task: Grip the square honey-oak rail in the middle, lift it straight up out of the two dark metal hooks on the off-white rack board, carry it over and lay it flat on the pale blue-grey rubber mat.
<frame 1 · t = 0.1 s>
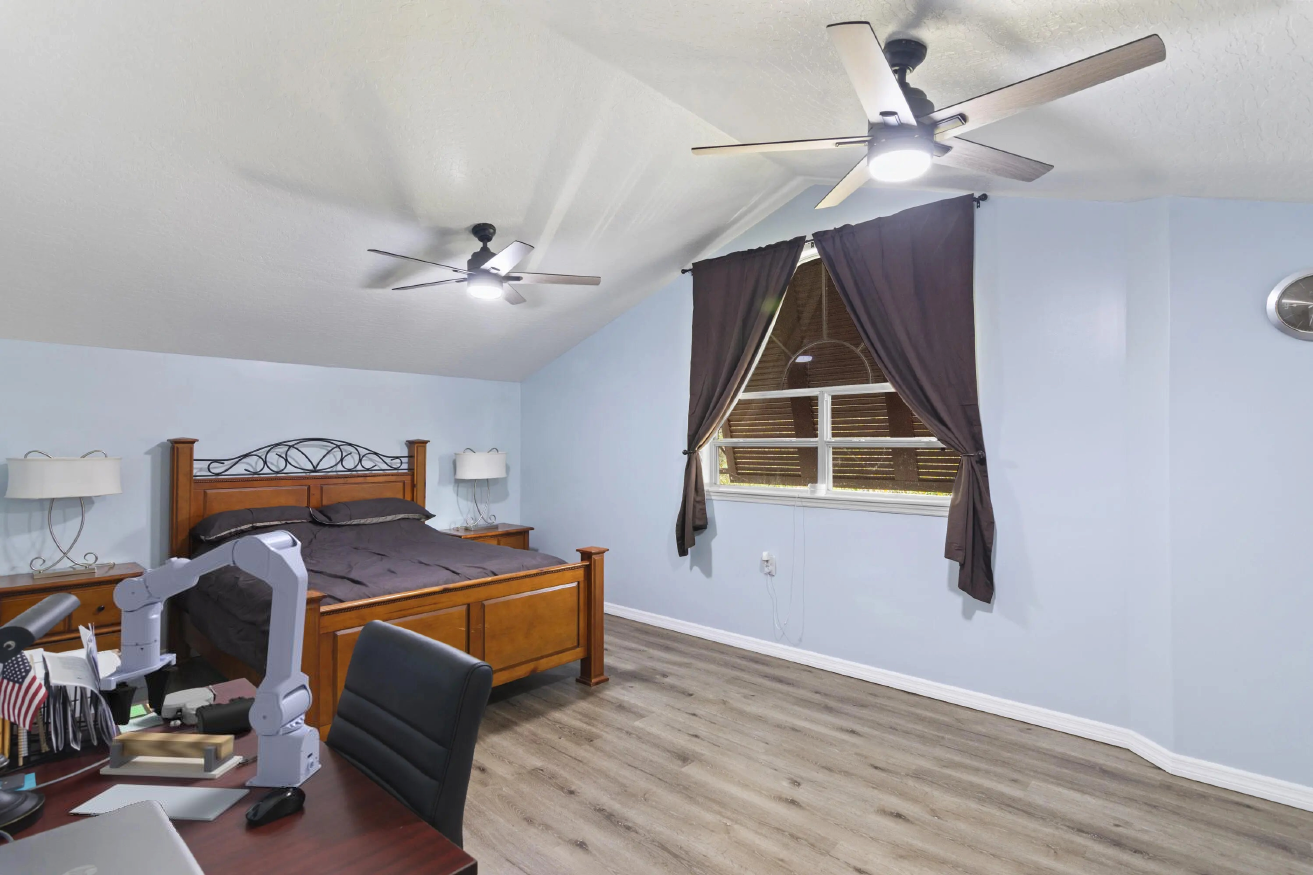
hand: (139, 715, 123), 10 cm above the table, tool pointing down, fingers open, 7 cm apart
robot toy: (190, 719, 147), on the table
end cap: (225, 736, 138), on the table
rubber mat: (162, 802, 112), on the table
oak rail: (173, 753, 124), point 2 cm above the table, touching hook rack
hook rack: (172, 766, 124), on the table
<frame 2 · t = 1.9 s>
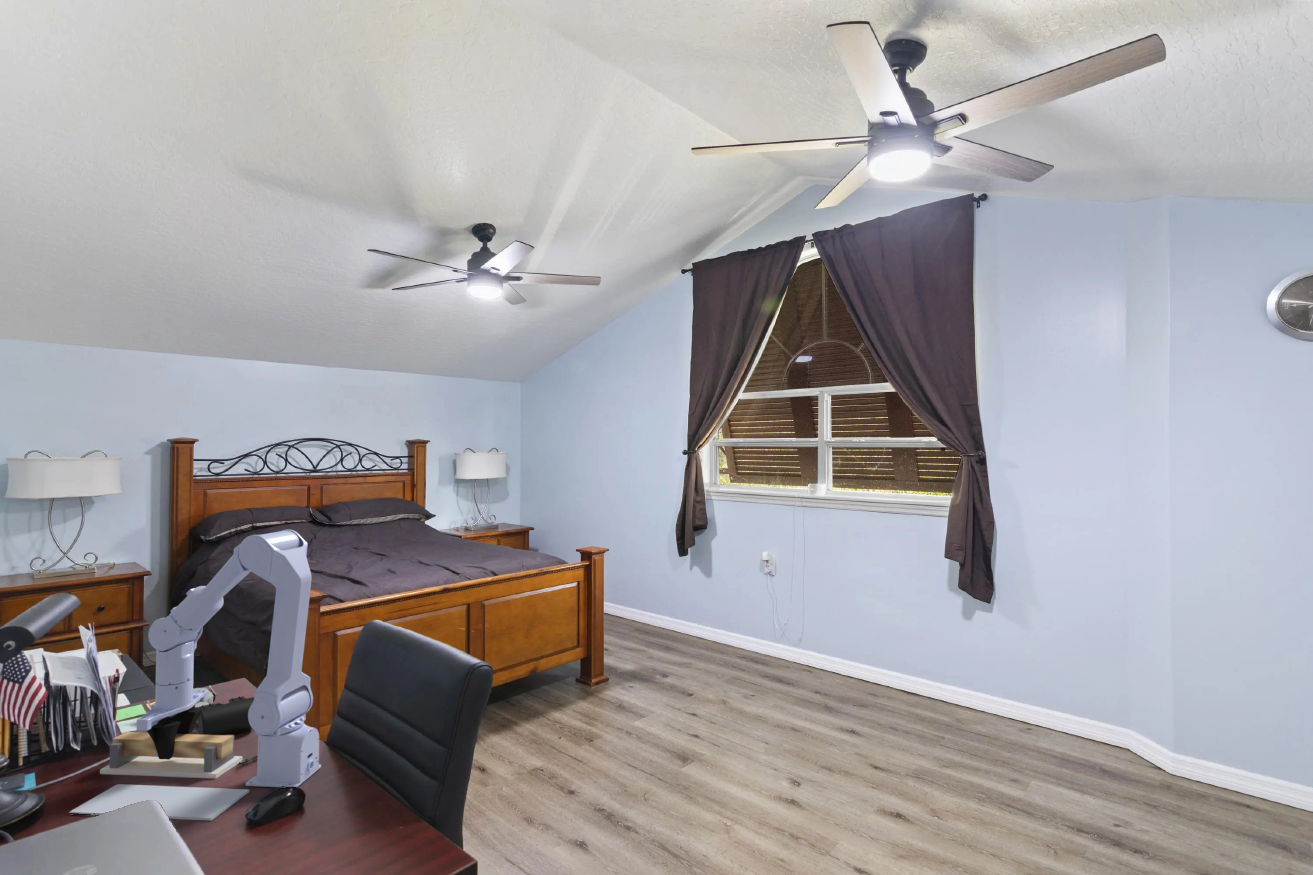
hand: (173, 753, 124), 2 cm above the table, tool pointing down, fingers closed on oak rail, 3 cm apart
oak rail: (173, 753, 124), point 2 cm above the table, touching gripper, hook rack
everything else where it was.
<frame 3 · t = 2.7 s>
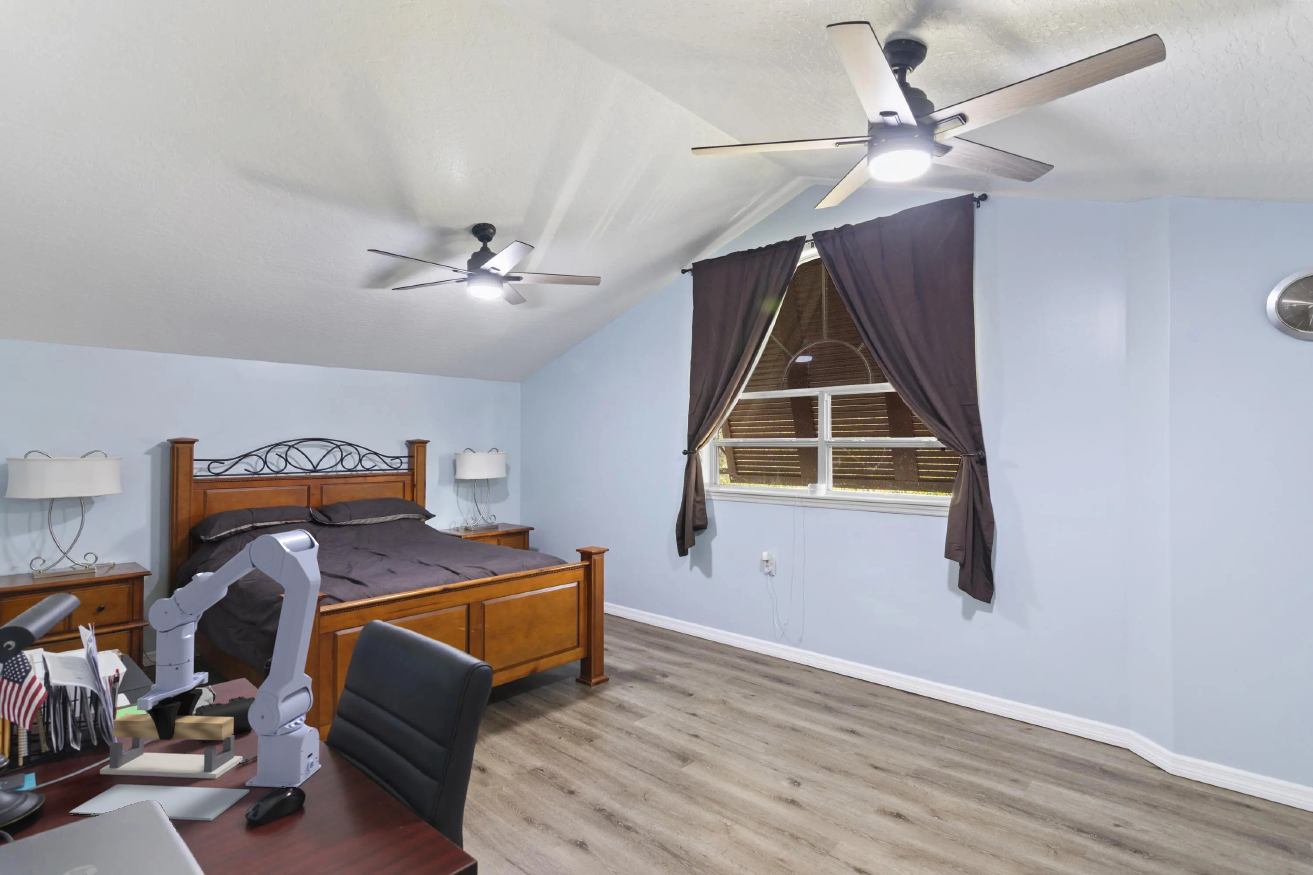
hand: (173, 734, 124), 6 cm above the table, tool pointing down, fingers closed on oak rail, 3 cm apart
oak rail: (173, 734, 124), point 6 cm above the table, touching gripper
everything else where it was.
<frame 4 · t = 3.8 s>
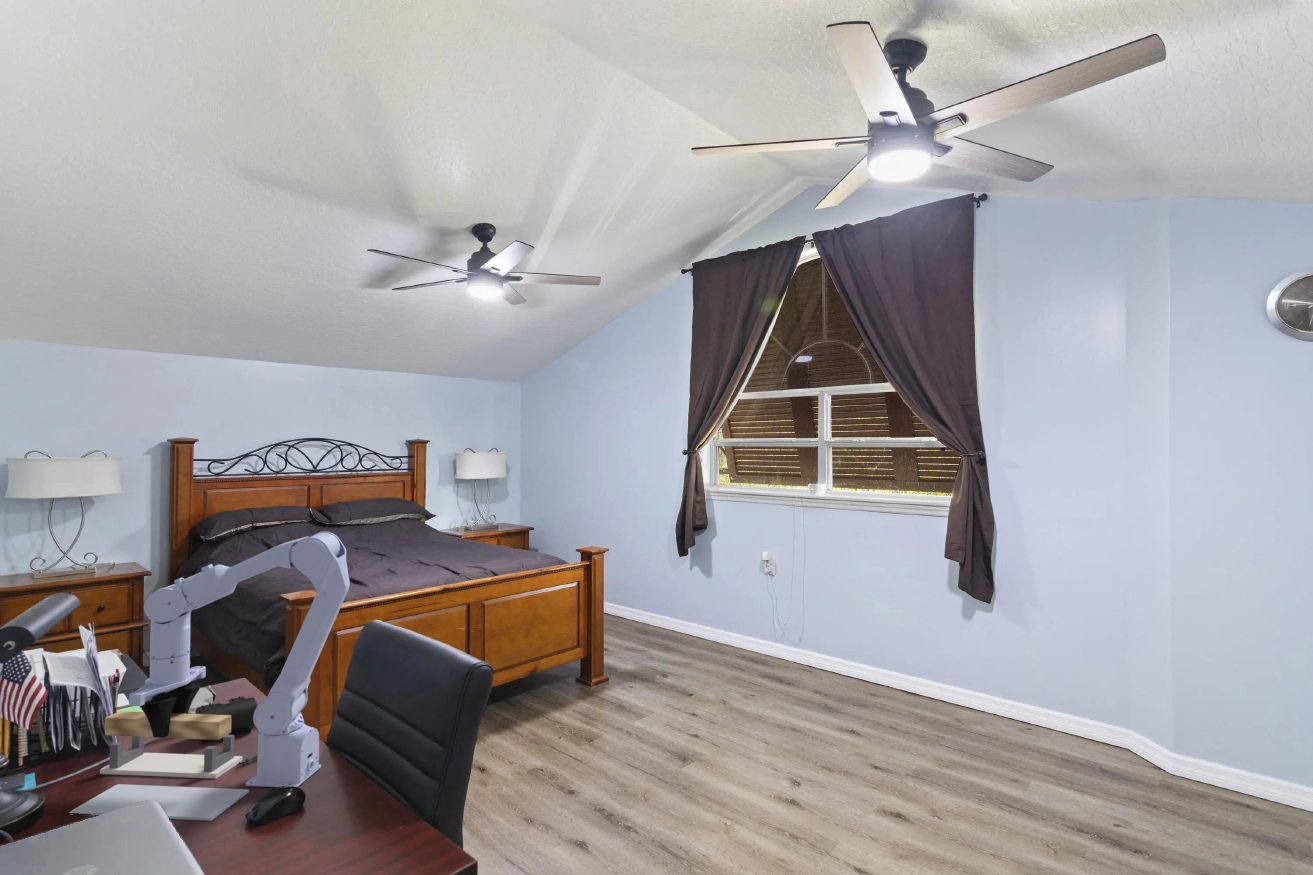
hand: (168, 732, 117), 9 cm above the table, tool pointing down, fingers closed on oak rail, 3 cm apart
oak rail: (168, 733, 117), point 9 cm above the table, touching gripper
everything else where it was.
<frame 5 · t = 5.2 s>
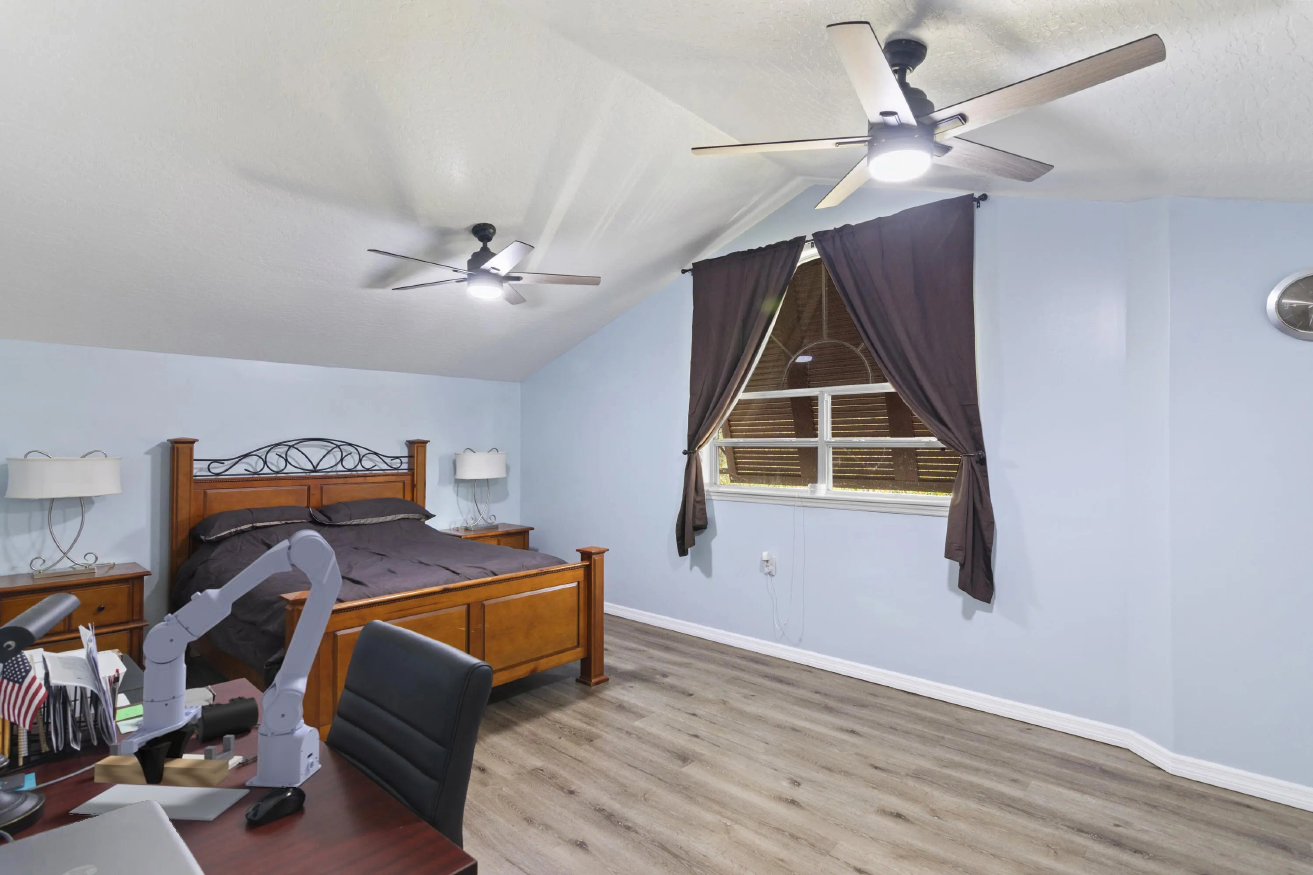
hand: (162, 777, 112), 4 cm above the table, tool pointing down, fingers closed on oak rail, 3 cm apart
oak rail: (161, 780, 112), point 4 cm above the table, touching gripper
everything else where it was.
when the fingers open (2 cm above the table, at t = 6.0 s): oak rail stays where it is, resting on rubber mat.
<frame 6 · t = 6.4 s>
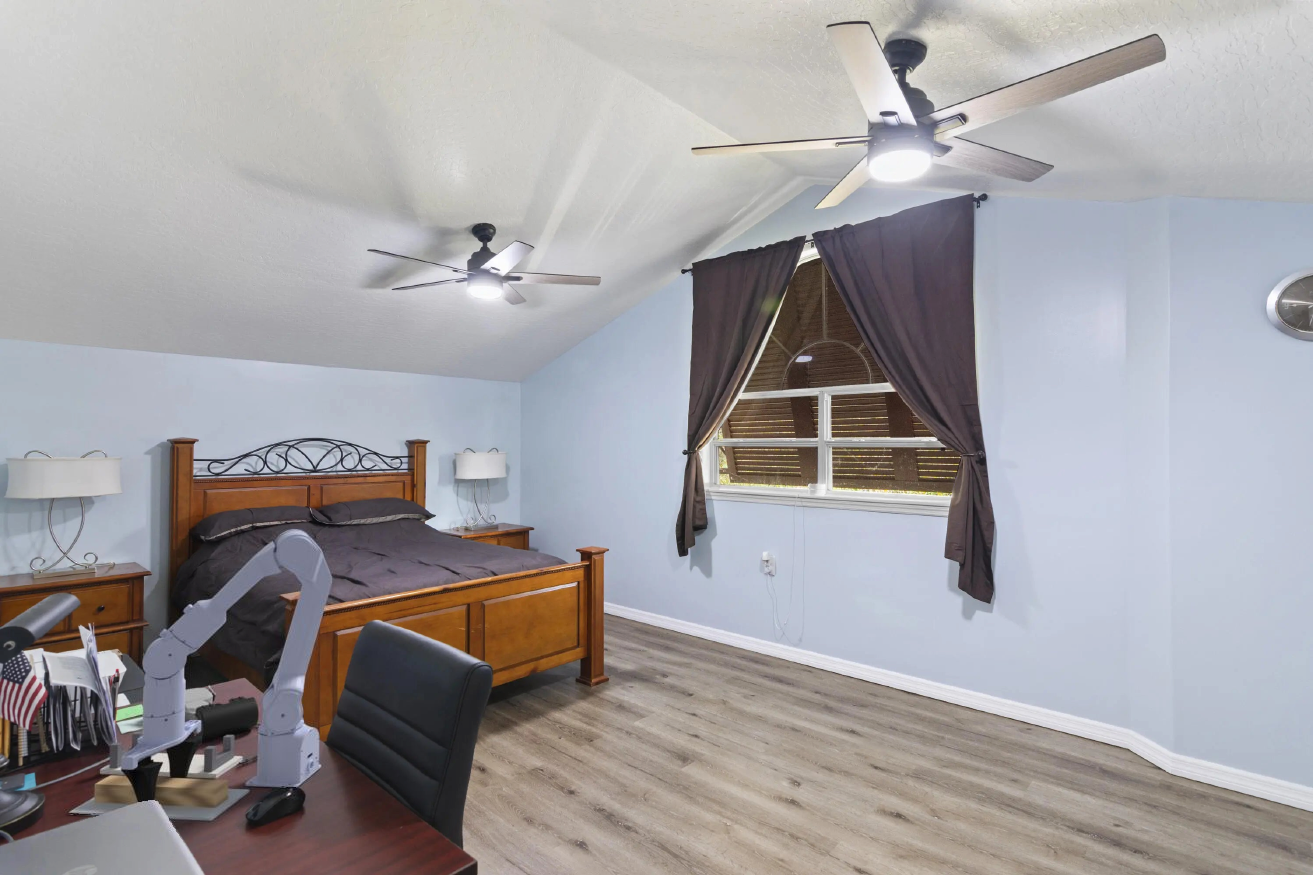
hand: (162, 792, 112), 2 cm above the table, tool pointing down, fingers open, 6 cm apart
oak rail: (161, 800, 112), resting on rubber mat
everything else where it was.
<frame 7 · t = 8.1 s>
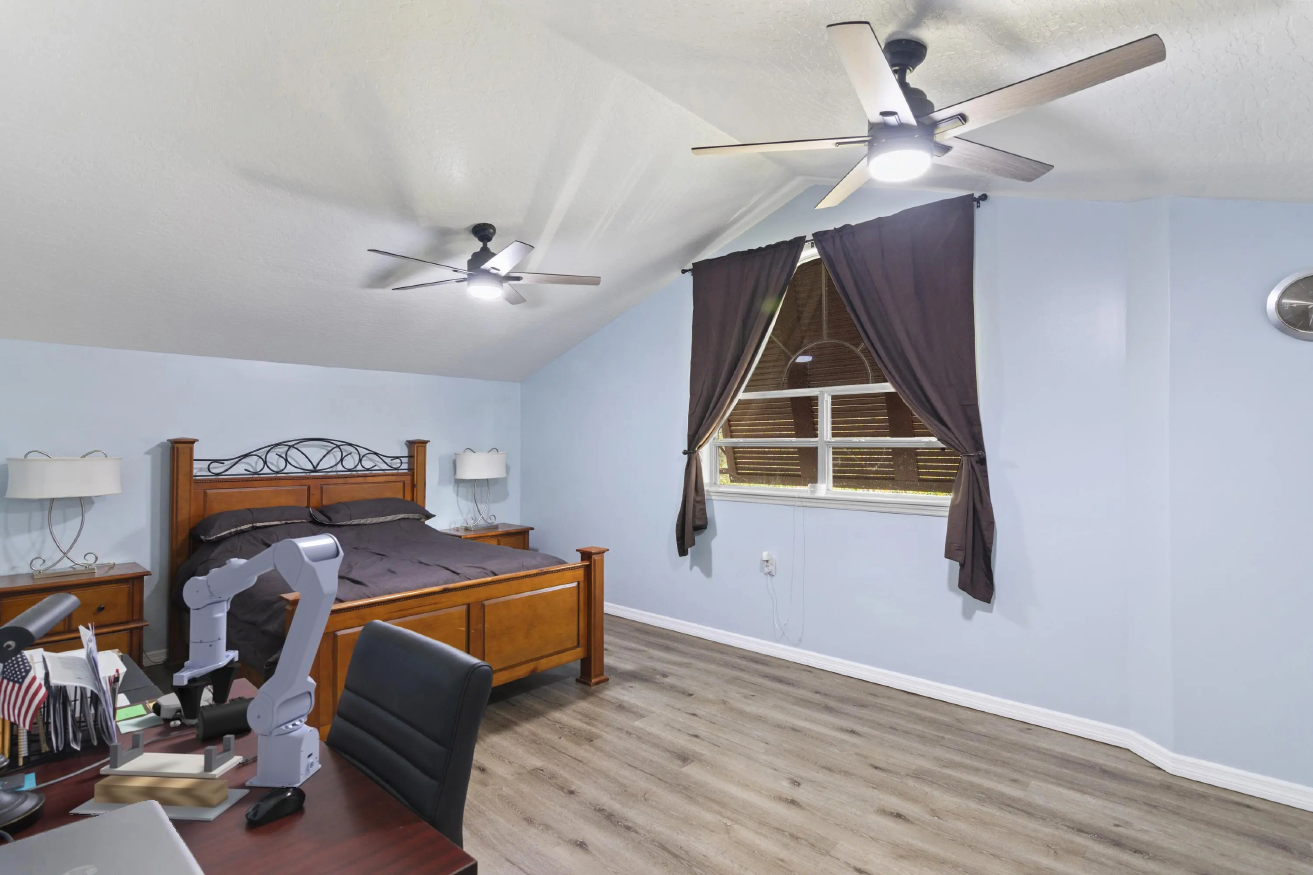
hand: (206, 710, 127), 9 cm above the table, tool pointing down, fingers open, 7 cm apart
nothing on the table moved.
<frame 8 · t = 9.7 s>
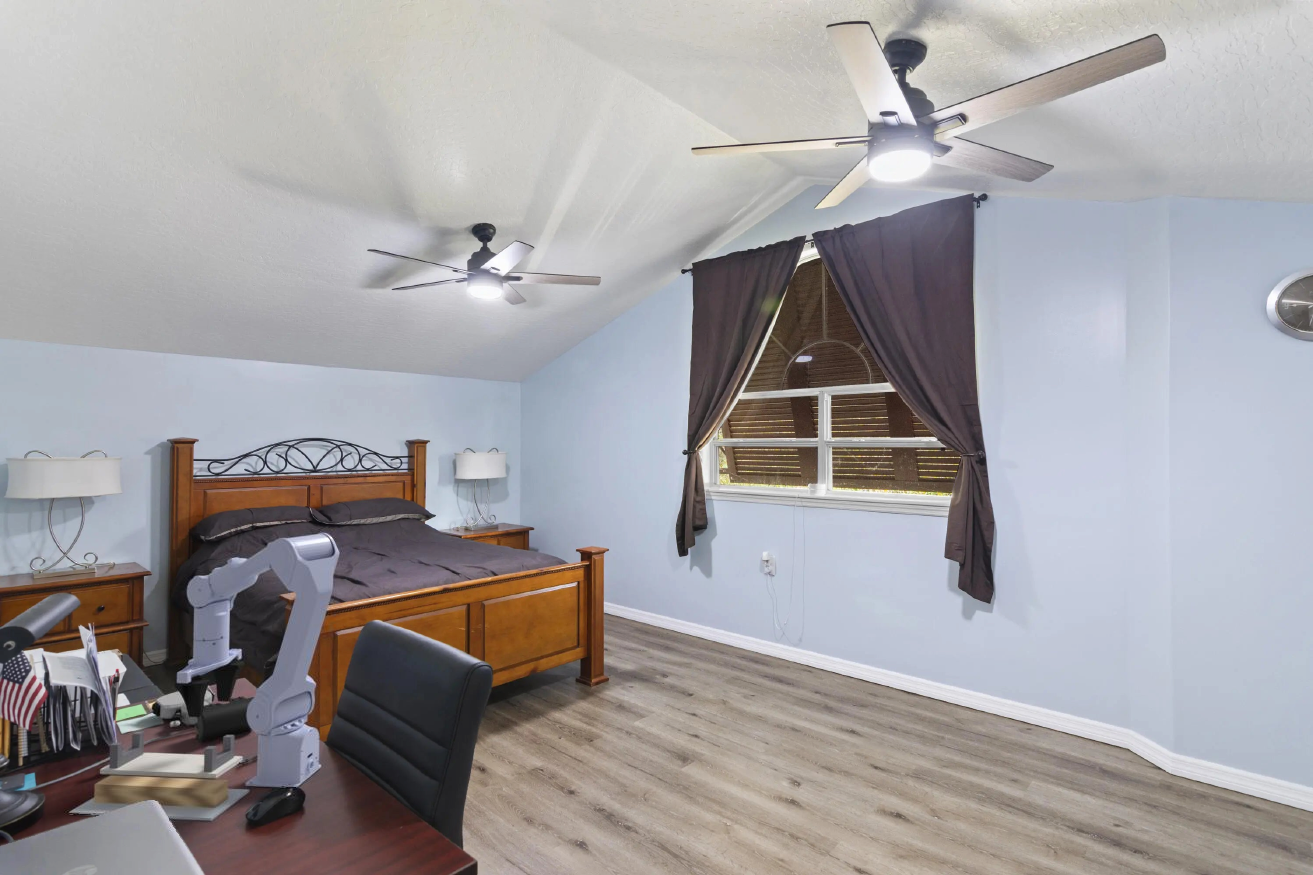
hand: (210, 708, 128), 9 cm above the table, tool pointing down, fingers open, 7 cm apart
nothing on the table moved.
at the end: oak rail inside the target area on the rubber mat (0.1 cm from its centre), point 0.4 cm above the rubber mat's base; the gripper is holding nothing; oak rail moved 14.5 cm from its start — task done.
